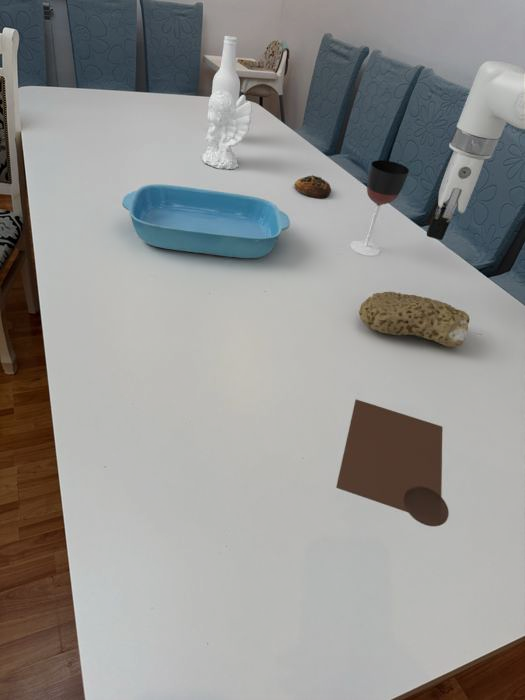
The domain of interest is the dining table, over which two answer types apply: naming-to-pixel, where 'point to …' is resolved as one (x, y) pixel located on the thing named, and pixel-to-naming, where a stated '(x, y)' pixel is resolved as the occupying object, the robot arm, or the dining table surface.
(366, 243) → the wineglass
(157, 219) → the casserole dish
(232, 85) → the alcohol
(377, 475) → the brown panel with disc
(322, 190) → the bread roll
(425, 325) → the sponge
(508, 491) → the dining table surface
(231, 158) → the cherub figurine
